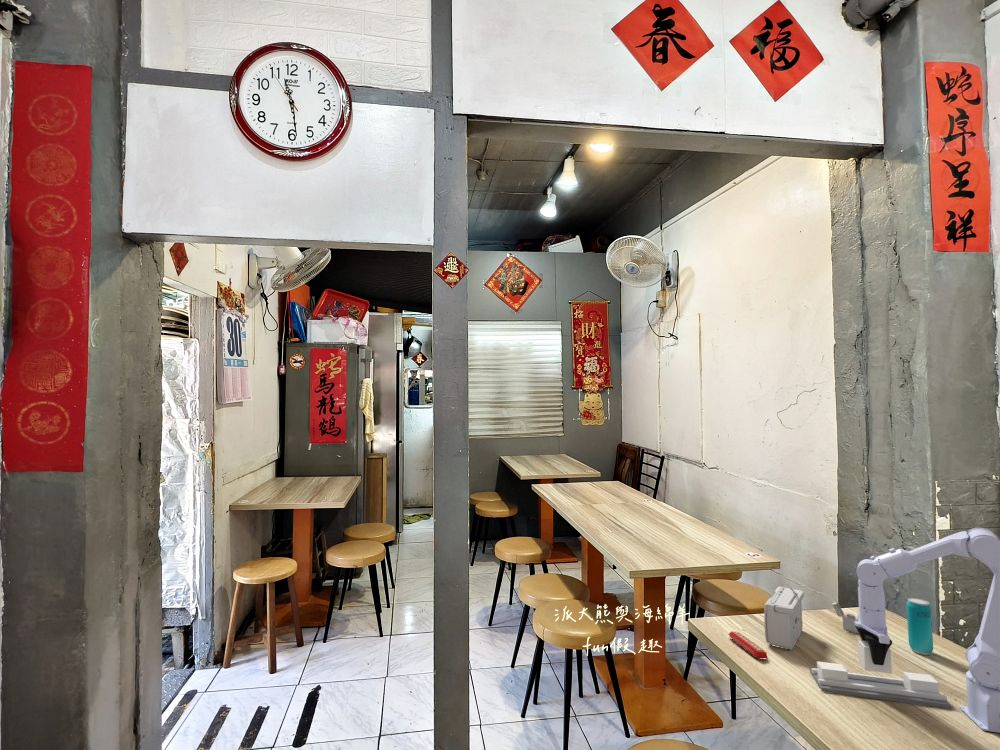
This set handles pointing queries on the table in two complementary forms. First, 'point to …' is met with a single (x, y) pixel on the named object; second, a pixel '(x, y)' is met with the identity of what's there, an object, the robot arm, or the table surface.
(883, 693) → the rail
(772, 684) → the table surface
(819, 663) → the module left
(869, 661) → the module block
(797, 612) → the stereo radio cassette player
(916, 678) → the block
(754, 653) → the red long bar
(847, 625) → the lighter
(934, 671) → the table surface
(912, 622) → the beverage can
